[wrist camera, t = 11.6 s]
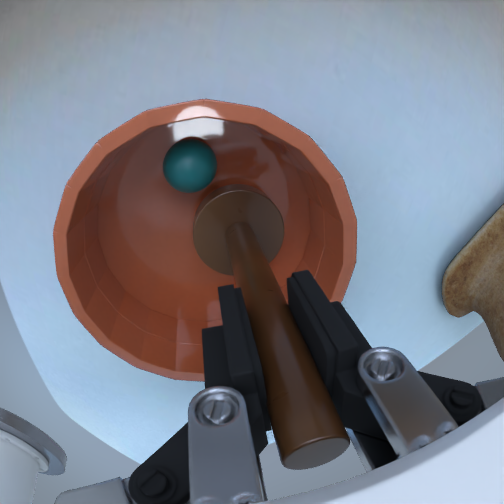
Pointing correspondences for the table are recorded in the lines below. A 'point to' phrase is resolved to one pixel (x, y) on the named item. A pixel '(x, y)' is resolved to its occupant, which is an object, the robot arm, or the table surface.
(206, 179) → the bead
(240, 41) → the table surface
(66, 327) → the table surface
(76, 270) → the bowl
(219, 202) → the brown disc-based tamper
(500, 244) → the stone cup
